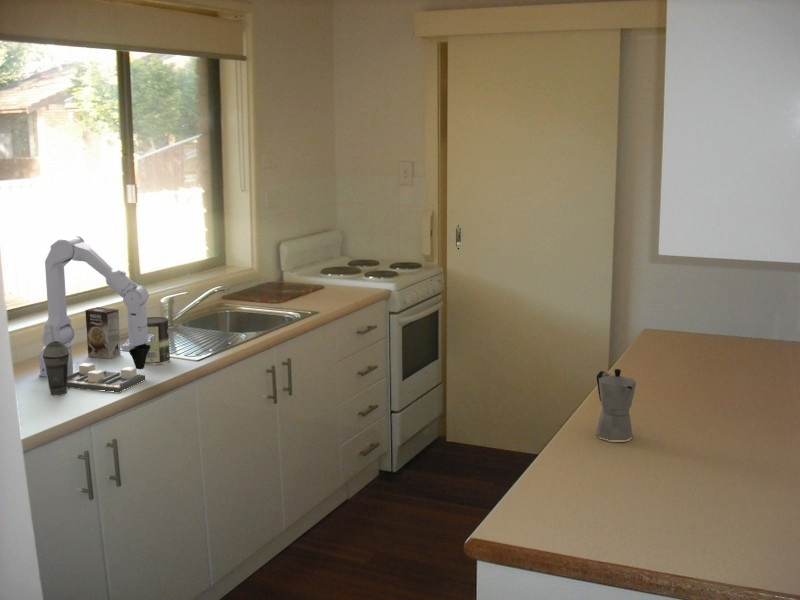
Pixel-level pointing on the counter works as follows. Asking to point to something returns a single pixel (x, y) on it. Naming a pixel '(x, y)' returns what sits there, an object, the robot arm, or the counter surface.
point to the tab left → (86, 368)
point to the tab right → (128, 373)
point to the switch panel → (103, 381)
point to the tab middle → (95, 376)
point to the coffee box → (103, 332)
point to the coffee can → (158, 341)
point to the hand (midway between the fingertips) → (140, 368)
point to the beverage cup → (56, 366)
